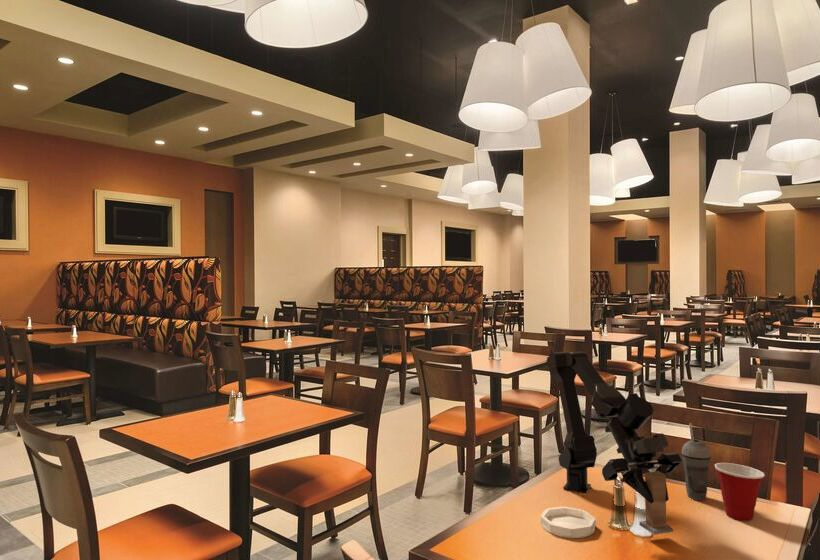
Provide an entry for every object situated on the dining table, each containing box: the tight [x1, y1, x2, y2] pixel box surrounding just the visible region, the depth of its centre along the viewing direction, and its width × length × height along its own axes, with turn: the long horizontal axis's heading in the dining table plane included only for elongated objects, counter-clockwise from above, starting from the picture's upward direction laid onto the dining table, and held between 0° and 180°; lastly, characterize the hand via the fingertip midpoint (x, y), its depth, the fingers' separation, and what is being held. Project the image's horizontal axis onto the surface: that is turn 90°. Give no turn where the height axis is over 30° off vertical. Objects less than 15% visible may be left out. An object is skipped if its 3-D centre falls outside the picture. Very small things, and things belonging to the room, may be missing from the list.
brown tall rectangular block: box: [638, 471, 674, 535], centre depth 126 cm, size 5×5×12 cm
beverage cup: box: [680, 423, 712, 502], centre depth 149 cm, size 7×7×20 cm
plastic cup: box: [714, 462, 766, 522], centre depth 137 cm, size 11×11×12 cm
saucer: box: [540, 506, 596, 539], centre depth 133 cm, size 12×12×2 cm
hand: (659, 501), depth 124 cm, fingers closed on brown tall rectangular block, 3 cm apart
